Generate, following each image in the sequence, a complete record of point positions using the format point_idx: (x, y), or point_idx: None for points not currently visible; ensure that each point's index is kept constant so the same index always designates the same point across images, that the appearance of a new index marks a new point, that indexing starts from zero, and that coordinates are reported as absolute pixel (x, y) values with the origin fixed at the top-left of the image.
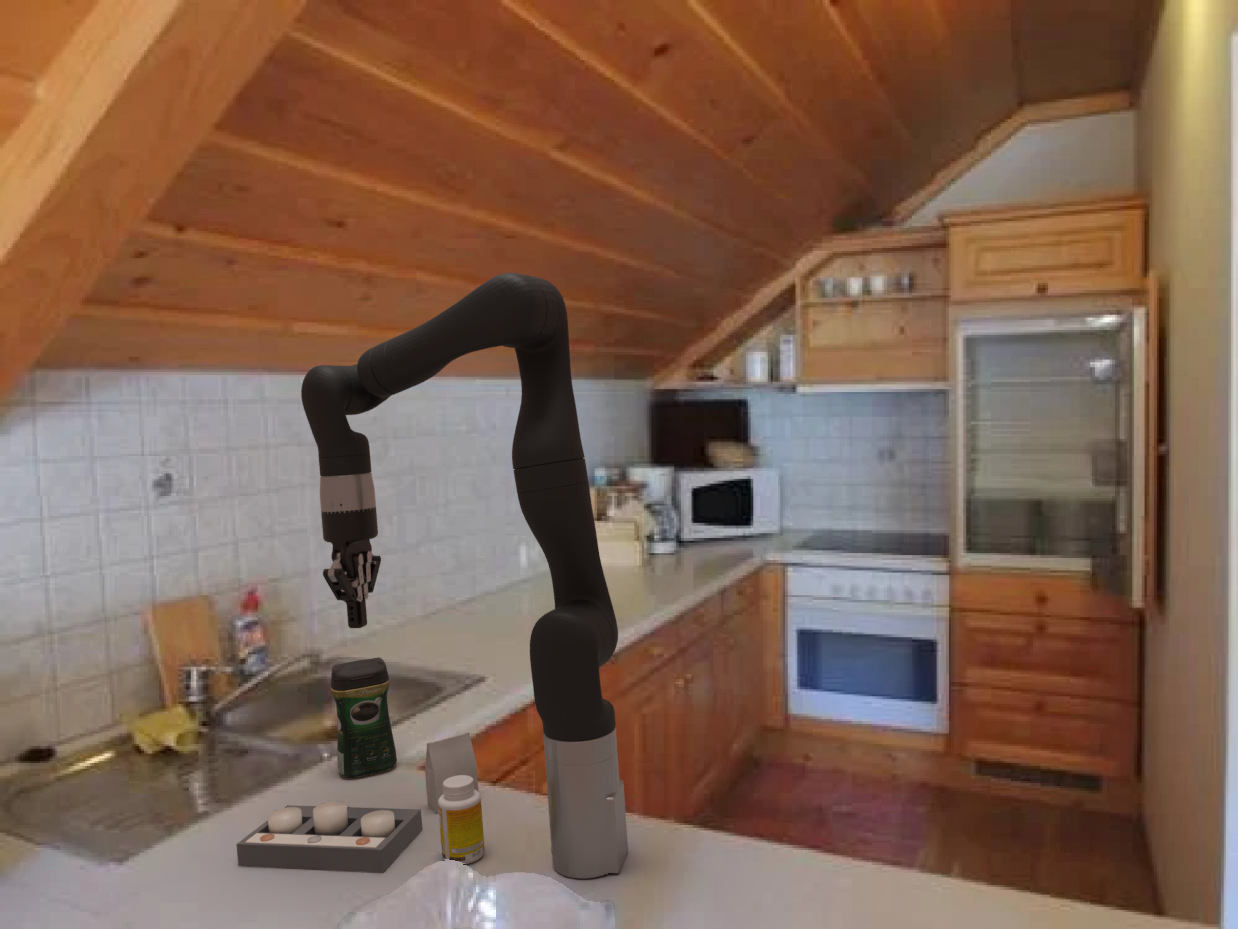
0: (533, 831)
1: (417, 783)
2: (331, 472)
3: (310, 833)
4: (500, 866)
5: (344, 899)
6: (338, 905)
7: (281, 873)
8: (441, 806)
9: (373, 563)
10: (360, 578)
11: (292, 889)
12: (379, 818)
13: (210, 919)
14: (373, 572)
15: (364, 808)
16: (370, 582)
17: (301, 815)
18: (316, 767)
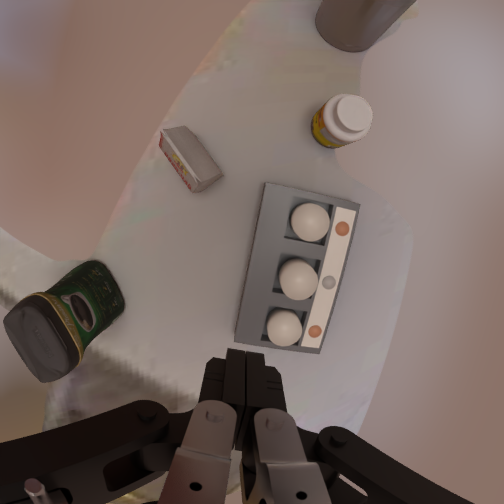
0: (281, 67)
1: (136, 221)
2: None
3: None
4: None
5: (390, 226)
6: (398, 229)
7: (336, 300)
8: (365, 135)
9: (46, 493)
10: (314, 489)
11: (366, 279)
12: (315, 219)
13: (395, 324)
14: (85, 461)
15: (254, 252)
16: (141, 439)
17: (282, 314)
18: (95, 346)
